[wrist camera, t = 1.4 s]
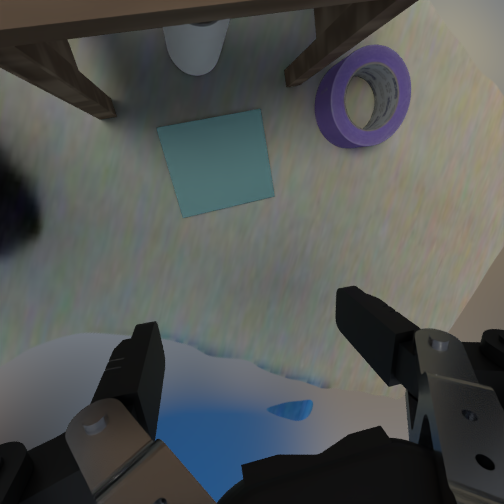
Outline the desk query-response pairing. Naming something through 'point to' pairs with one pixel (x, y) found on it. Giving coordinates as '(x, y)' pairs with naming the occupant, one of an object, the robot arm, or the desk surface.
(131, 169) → the desk surface
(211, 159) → the pad
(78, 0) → the small wooden table
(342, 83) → the tape roll
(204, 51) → the can
